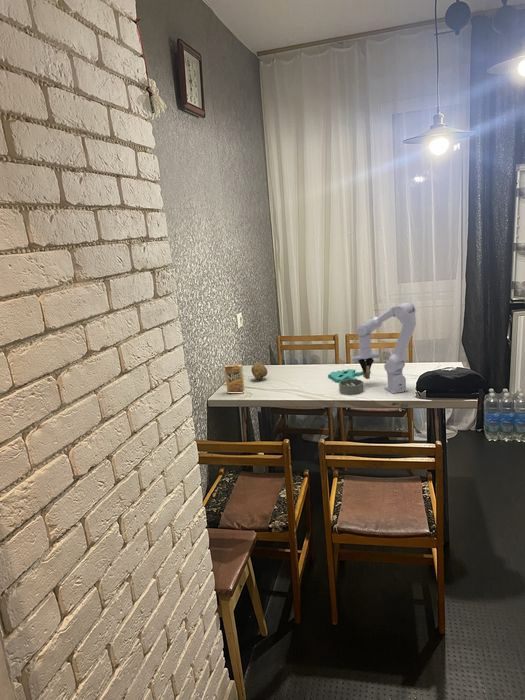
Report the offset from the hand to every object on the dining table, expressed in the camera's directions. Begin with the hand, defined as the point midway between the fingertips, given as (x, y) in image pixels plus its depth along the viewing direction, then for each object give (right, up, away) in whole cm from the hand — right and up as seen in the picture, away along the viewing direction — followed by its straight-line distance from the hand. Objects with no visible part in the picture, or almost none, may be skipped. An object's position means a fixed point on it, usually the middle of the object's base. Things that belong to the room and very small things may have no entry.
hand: (366, 372), depth 258 cm
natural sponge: (-55, -6, +27) cm, 62 cm away
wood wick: (0, -3, +1) cm, 3 cm away
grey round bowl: (-9, -9, -6) cm, 14 cm away
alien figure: (-7, -4, +17) cm, 19 cm away
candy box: (-68, -11, +8) cm, 69 cm away
